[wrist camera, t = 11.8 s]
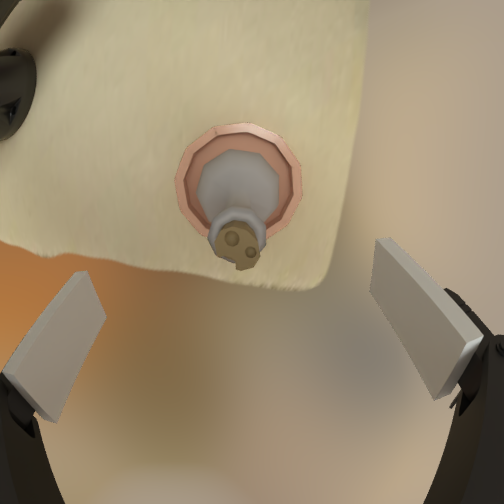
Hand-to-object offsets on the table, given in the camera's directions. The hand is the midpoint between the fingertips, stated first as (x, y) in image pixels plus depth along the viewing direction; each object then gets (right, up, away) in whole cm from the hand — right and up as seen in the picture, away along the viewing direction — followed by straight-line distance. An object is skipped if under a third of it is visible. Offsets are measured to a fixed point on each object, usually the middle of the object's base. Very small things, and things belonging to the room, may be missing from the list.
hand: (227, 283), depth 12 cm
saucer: (-1, +10, +21) cm, 23 cm away
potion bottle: (0, +9, +20) cm, 22 cm away
